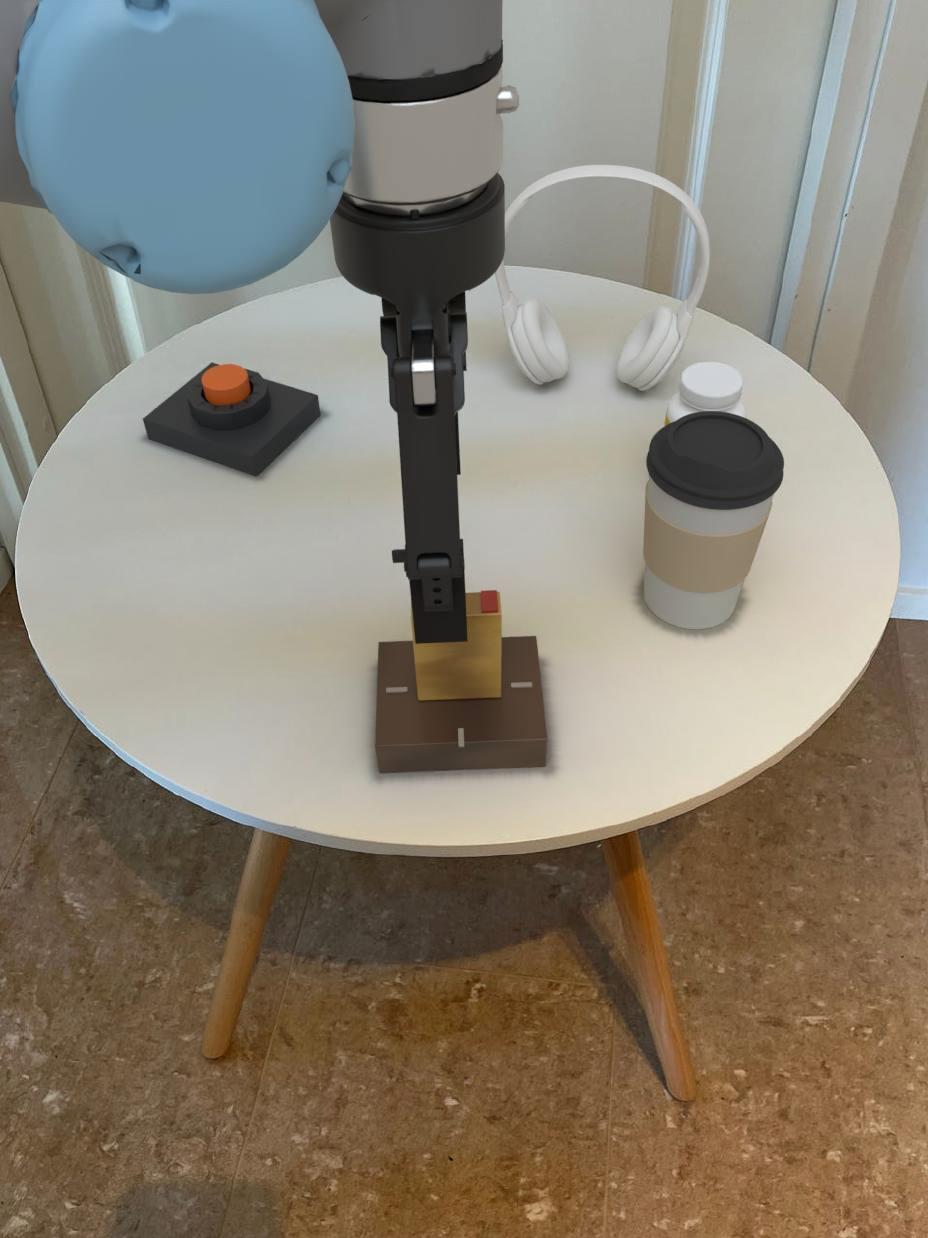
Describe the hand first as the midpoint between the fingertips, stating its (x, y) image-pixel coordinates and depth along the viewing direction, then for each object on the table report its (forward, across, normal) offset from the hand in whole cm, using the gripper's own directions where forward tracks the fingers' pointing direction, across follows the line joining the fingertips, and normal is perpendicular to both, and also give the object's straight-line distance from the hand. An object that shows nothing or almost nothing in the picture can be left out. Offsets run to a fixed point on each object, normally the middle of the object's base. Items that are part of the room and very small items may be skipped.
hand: (439, 548), depth 60 cm
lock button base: (+17, +35, +19) cm, 43 cm away
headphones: (+17, +41, -14) cm, 46 cm away
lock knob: (+14, +1, -1) cm, 14 cm away
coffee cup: (+17, +12, -18) cm, 28 cm away
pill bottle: (+17, +24, -21) cm, 36 cm away
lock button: (+13, +35, +19) cm, 42 cm away
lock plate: (+17, +1, -1) cm, 17 cm away
